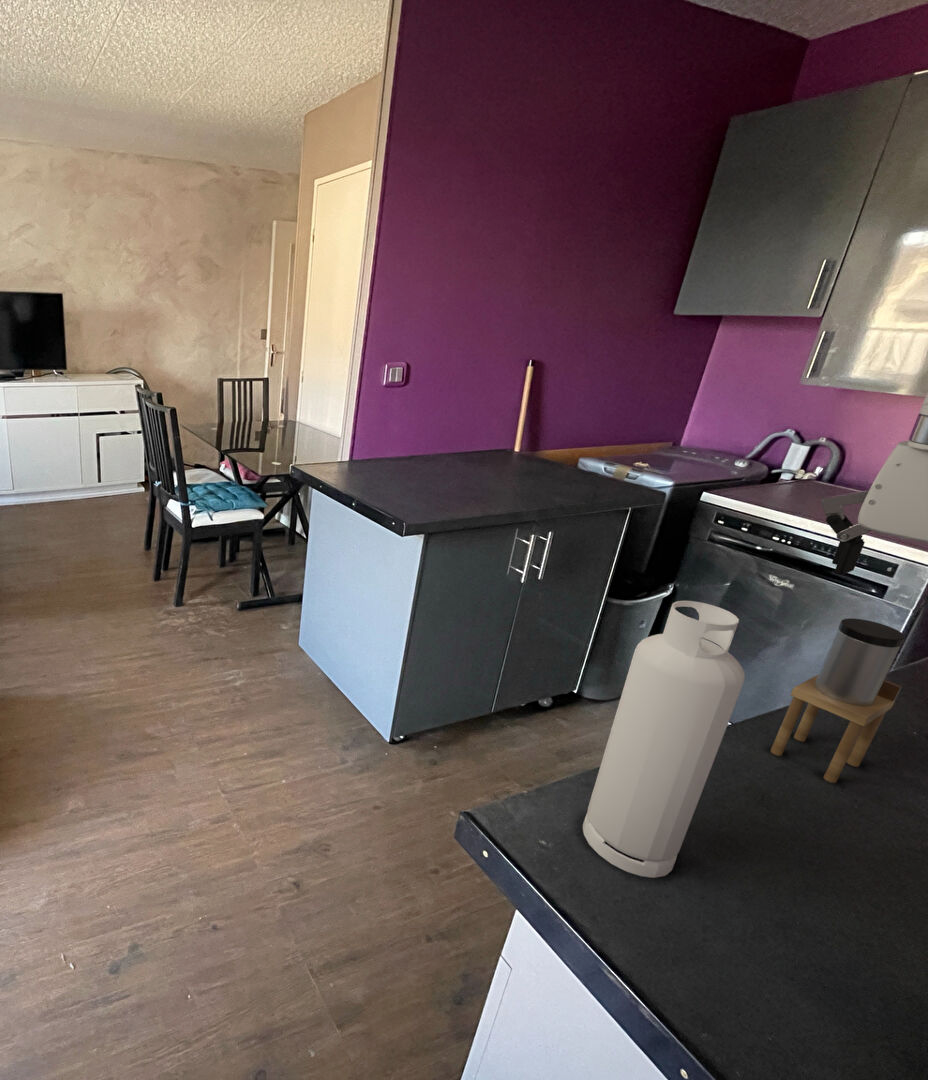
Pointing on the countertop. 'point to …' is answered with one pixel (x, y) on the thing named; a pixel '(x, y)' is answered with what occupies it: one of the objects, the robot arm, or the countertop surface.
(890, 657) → the canister
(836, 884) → the countertop surface
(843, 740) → the small wooden chair
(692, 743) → the bottle
